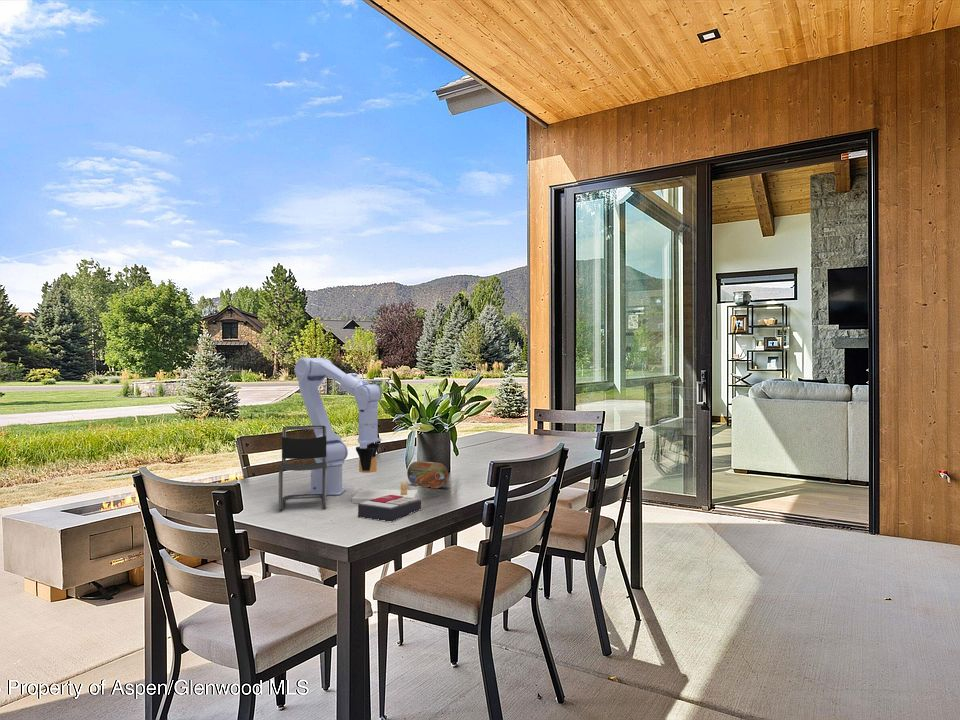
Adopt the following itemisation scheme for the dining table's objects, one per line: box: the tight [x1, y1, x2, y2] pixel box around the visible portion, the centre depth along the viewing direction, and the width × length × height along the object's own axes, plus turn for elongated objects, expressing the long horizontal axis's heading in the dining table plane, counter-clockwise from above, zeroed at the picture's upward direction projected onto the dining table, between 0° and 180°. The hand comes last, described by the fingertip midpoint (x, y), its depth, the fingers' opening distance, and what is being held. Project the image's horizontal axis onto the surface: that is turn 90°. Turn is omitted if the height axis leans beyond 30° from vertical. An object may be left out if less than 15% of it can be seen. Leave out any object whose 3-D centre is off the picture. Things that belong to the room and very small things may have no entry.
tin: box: [406, 460, 449, 489], centre depth 201 cm, size 15×3×8 cm, turn 62°
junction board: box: [351, 481, 419, 504], centre depth 183 cm, size 18×12×5 cm, turn 89°
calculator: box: [357, 495, 422, 522], centre depth 167 cm, size 11×4×15 cm
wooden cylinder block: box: [358, 456, 378, 474], centre depth 183 cm, size 5×5×4 cm
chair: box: [278, 425, 327, 511], centre depth 177 cm, size 13×17×22 cm
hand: (367, 468), depth 183 cm, fingers closed on wooden cylinder block, 5 cm apart
